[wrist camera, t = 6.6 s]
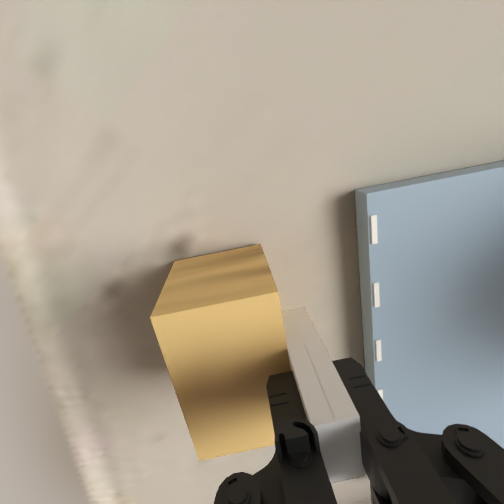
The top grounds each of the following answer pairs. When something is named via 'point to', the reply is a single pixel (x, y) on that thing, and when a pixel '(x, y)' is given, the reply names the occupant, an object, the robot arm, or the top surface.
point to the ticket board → (435, 297)
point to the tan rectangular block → (223, 347)
